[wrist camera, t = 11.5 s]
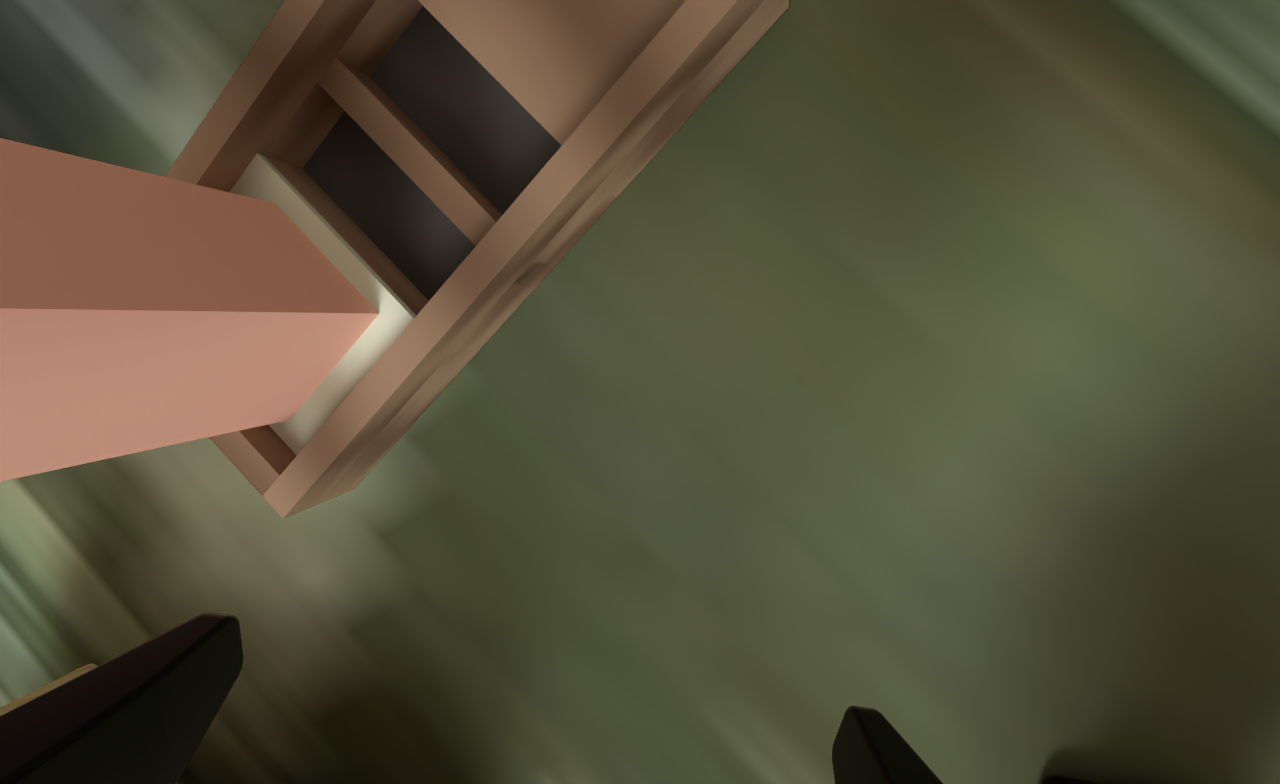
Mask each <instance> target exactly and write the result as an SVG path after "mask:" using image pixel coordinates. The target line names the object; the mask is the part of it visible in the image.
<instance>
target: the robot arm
mask: <svg viewBox="0 0 1280 784" xmlns="http://www.w3.org/2000/svg"><path fill="white" fill-rule="evenodd" d="M242 664H243V650H242V642H241V633H240V625H239V621H238V619H237V618H236V617H235V616H233V615H227V614H220V613H214V612H207V613H203V614H201V615H199V616H197V617H195V618H193V619H191V620H189V621H187V622H185V623H183V624H181V625H179V626H177V627H175V628H173V629H171V630H169V631H167V632H165V633H163V634H161V635H159V636H157V637H155V638H153V639H151V640H149V641H147V642H145V643H143V644H141V645H139V646H137V647H135V648H133V649H131V650H129V651H127V652H125V653H123V654H121V655H119V656H117V657H115V658H113V659H111V660H109V661H107V662H105V663H104V664H102V665H100V666H98V667H96V668H94V669H92V670H90V671H88V672H86V673H84V674H82V675H80V676H78V677H76V678H74V679H72V680H70V681H68V682H66V683H64V684H62V685H60V686H58V687H56V688H54V689H52V690H50V691H48V692H46V693H44V694H42V695H40V696H38V697H36V698H34V699H32V700H30V701H28V702H26V703H24V704H22V705H20V706H18V707H16V708H14V709H12V710H10V711H8V712H7V713H5V714H3V715H1V716H0V784H176V783H177V781H178V779H179V778H180V776H181V774H182V773H183V771H184V769H185V768H186V766H187V764H188V763H189V761H190V759H191V757H192V756H193V754H194V752H195V750H196V749H197V747H198V745H199V743H200V742H201V740H202V738H203V737H204V735H205V733H206V731H207V730H208V728H209V726H210V724H211V723H212V721H213V719H214V717H215V716H216V714H217V712H218V710H219V709H220V707H221V705H222V703H223V702H224V700H225V698H226V697H227V695H228V693H229V691H230V690H231V688H232V686H233V684H234V683H235V681H236V679H237V677H238V675H239V673H240V671H241V668H242ZM832 763H833V770H834V778H835V784H943V783H942V782H941V781H940V780H939V778H938V777H937V776H936V775H935V774H934V773H933V772H932V770H931V769H930V768H929V767H928V766H927V765H926V764H925V763H924V761H923V760H922V759H921V758H920V757H919V756H918V755H917V753H916V752H915V751H914V750H913V749H912V748H911V747H910V746H909V744H908V743H907V742H906V741H905V740H904V739H903V738H902V736H901V735H900V734H899V733H898V732H897V731H896V730H895V729H894V727H893V726H892V725H891V724H890V723H889V722H888V721H887V719H886V718H885V717H884V716H883V715H882V714H881V713H880V712H879V711H877V710H875V709H872V708H865V707H858V706H850V707H849V708H848V709H847V710H846V712H845V714H844V717H843V719H842V722H841V725H840V727H839V730H838V733H837V735H836V738H835V741H834V744H833V749H832ZM1042 784H1096V783H1091V782H1087V781H1082V780H1077V779H1072V778H1067V777H1062V776H1053V777H1049V778H1047V779H1046V780H1045V781H1044V782H1043V783H1042Z"/></svg>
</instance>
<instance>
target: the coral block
mask: <svg viewBox="0 0 1280 784" xmlns="http://www.w3.org/2000/svg"><path fill="white" fill-rule="evenodd" d="M378 315H379V313H378V312H377V311H376V310H375V308H374V307H373V306H372V305H371V304H370V303H369V302H368V301H367V300H366V299H365V298H364V297H363V296H362V295H361V294H360V293H359V292H358V290H357V289H356V288H355V287H354V286H353V285H352V284H351V283H350V282H349V281H348V280H347V279H346V278H345V277H344V276H343V275H342V273H341V272H340V271H339V270H338V269H337V268H336V267H335V266H334V265H333V264H332V263H331V262H330V261H329V260H328V259H327V258H326V256H325V255H324V254H323V253H322V252H321V251H320V250H319V249H318V248H317V247H316V246H315V245H314V244H313V243H312V242H311V241H310V239H309V238H308V237H307V236H306V235H305V234H304V233H303V232H302V231H301V230H300V229H299V228H298V227H297V226H296V225H295V224H294V222H293V221H292V220H291V219H290V218H289V217H288V216H287V215H286V214H285V213H284V212H283V211H282V210H281V209H280V208H279V207H278V205H277V204H276V203H272V202H268V201H263V200H259V199H255V198H251V197H247V196H242V195H238V194H234V193H230V192H225V191H221V190H217V189H213V188H209V187H204V186H200V185H196V184H192V183H187V182H183V181H179V180H175V179H171V178H166V177H162V176H158V175H154V174H150V173H145V172H141V171H137V170H133V169H128V168H124V167H120V166H116V165H112V164H107V163H103V162H99V161H95V160H91V159H86V158H82V157H78V156H74V155H69V154H65V153H61V152H57V151H53V150H48V149H44V148H40V147H36V146H31V145H27V144H23V143H19V142H15V141H10V140H6V139H2V138H0V481H5V480H10V479H15V478H19V477H24V476H29V475H33V474H38V473H43V472H47V471H52V470H57V469H61V468H66V467H71V466H75V465H80V464H85V463H90V462H94V461H99V460H104V459H108V458H113V457H118V456H122V455H127V454H132V453H136V452H141V451H146V450H151V449H155V448H160V447H165V446H169V445H174V444H179V443H183V442H188V441H193V440H197V439H202V438H207V437H211V436H216V435H221V434H226V433H230V432H235V431H240V430H244V429H249V428H254V427H258V426H263V425H268V424H272V423H277V422H282V421H286V420H290V419H291V418H292V417H293V416H294V415H295V414H296V412H297V411H298V410H299V409H300V408H301V406H302V405H303V404H304V403H305V402H306V400H307V399H308V398H309V397H310V396H311V394H312V393H313V392H314V391H315V390H316V389H317V387H318V386H319V385H320V384H321V383H322V381H323V380H324V379H325V378H326V377H327V375H328V374H329V373H330V372H331V371H332V369H333V368H334V367H335V366H336V365H337V364H338V362H339V361H340V360H341V359H342V358H343V356H344V355H345V354H346V353H347V352H348V350H349V349H350V348H351V347H352V346H353V344H354V343H355V342H356V341H357V340H358V339H359V337H360V336H361V335H362V334H363V333H364V331H365V330H366V329H367V328H368V327H369V325H370V324H371V323H372V322H373V321H374V319H375V318H376V317H377V316H378Z"/></svg>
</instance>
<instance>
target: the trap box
mask: <svg viewBox="0 0 1280 784" xmlns="http://www.w3.org/2000/svg"><path fill="white" fill-rule="evenodd" d="M788 7H789V0H285V1H284V2H283V3H282V5H281V6H280V8H279V9H278V11H277V12H276V14H275V15H274V17H273V18H272V20H271V21H270V23H269V24H268V26H267V27H266V28H265V30H264V31H263V33H262V34H261V36H260V37H259V39H258V40H257V42H256V43H255V45H254V46H253V48H252V49H251V51H250V52H249V53H248V55H247V56H246V58H245V59H244V61H243V62H242V64H241V65H240V67H239V68H238V70H237V71H236V73H235V74H234V76H233V77H232V79H231V80H230V81H229V83H228V84H227V86H226V87H225V89H224V90H223V92H222V93H221V95H220V96H219V98H218V99H217V101H216V102H215V104H214V105H213V106H212V108H211V109H210V111H209V112H208V114H207V115H206V117H205V118H204V120H203V121H202V123H201V124H200V126H199V127H198V129H197V130H196V131H195V133H194V134H193V136H192V137H191V139H190V140H189V142H188V143H187V145H186V146H185V148H184V149H183V151H182V152H181V154H180V155H179V157H178V158H177V159H176V161H175V162H174V164H173V165H172V167H171V168H170V170H169V171H168V173H167V174H166V176H165V177H166V178H171V179H175V180H179V181H183V182H187V183H192V184H196V185H200V186H204V187H209V188H213V189H217V190H221V191H225V192H230V193H234V194H238V195H242V196H247V197H251V198H255V199H259V200H263V201H268V202H272V203H276V204H277V205H278V207H279V208H280V209H281V210H282V211H283V212H284V213H285V214H286V215H287V216H288V217H289V218H290V219H291V220H292V221H293V222H294V224H295V225H296V226H297V227H298V228H299V229H300V230H301V231H302V232H303V233H304V234H305V235H306V236H307V237H308V238H309V239H310V241H311V242H312V243H313V244H314V245H315V246H316V247H317V248H318V249H319V250H320V251H321V252H322V253H323V254H324V255H325V256H326V258H327V259H328V260H329V261H330V262H331V263H332V264H333V265H334V266H335V267H336V268H337V269H338V270H339V271H340V272H341V273H342V275H343V276H344V277H345V278H346V279H347V280H348V281H349V282H350V283H351V284H352V285H353V286H354V287H355V288H356V289H357V290H358V292H359V293H360V294H361V295H362V296H363V297H364V298H365V299H366V300H367V301H368V302H369V303H370V304H371V305H372V306H373V307H374V308H375V310H376V311H377V312H378V313H379V315H378V316H377V317H376V318H375V319H374V321H373V322H372V323H371V324H370V325H369V327H368V328H367V329H366V330H365V331H364V333H363V334H362V335H361V336H360V337H359V339H358V340H357V341H356V342H355V343H354V344H353V346H352V347H351V348H350V349H349V350H348V352H347V353H346V354H345V355H344V356H343V358H342V359H341V360H340V361H339V362H338V364H337V365H336V366H335V367H334V368H333V369H332V371H331V372H330V373H329V374H328V375H327V377H326V378H325V379H324V380H323V381H322V383H321V384H320V385H319V386H318V387H317V389H316V390H315V391H314V392H313V393H312V394H311V396H310V397H309V398H308V399H307V400H306V402H305V403H304V404H303V405H302V406H301V408H300V409H299V410H298V411H297V412H296V414H295V415H294V416H293V417H292V418H291V419H290V420H286V421H282V422H277V423H272V424H268V425H263V426H258V427H254V428H249V429H244V430H240V431H235V432H230V433H226V434H221V435H216V436H211V437H209V438H210V439H211V440H212V441H213V442H214V444H215V445H216V446H217V447H218V448H219V449H220V450H221V451H222V452H223V453H224V455H225V456H226V457H227V458H228V459H229V460H230V461H231V462H232V463H233V464H234V466H235V467H236V468H237V469H238V470H239V471H240V472H241V473H242V474H243V475H244V476H245V478H246V479H247V480H248V481H249V482H250V483H251V484H252V485H253V486H254V487H255V489H256V490H257V491H258V492H259V493H260V494H261V495H262V496H263V497H264V498H265V500H266V501H267V502H268V503H269V504H270V505H271V506H272V507H273V508H274V509H275V510H276V512H277V513H278V514H279V515H280V516H281V517H282V518H286V517H288V516H291V515H293V514H295V513H298V512H300V511H303V510H305V509H307V508H310V507H312V506H315V505H317V504H319V503H322V502H324V501H327V500H329V499H331V498H334V497H336V496H339V495H341V494H343V493H346V492H348V491H351V490H353V489H354V488H355V487H356V486H357V485H358V484H359V483H360V482H361V481H362V480H363V478H364V477H365V476H366V475H367V474H368V473H369V472H370V471H371V470H372V468H373V467H374V466H375V465H376V464H377V463H378V462H379V461H380V460H381V459H382V457H383V456H384V455H385V454H386V453H387V452H388V451H389V450H390V449H391V447H392V446H393V445H394V444H395V443H396V442H397V441H398V440H399V439H400V437H401V436H402V435H403V434H404V433H405V432H406V431H407V430H408V429H409V427H410V426H411V425H412V424H413V423H414V422H415V421H416V420H417V419H418V417H419V416H420V415H421V414H422V413H423V412H424V411H425V410H426V409H427V408H428V406H429V405H430V404H431V403H432V402H433V401H434V400H435V399H436V398H437V396H438V395H439V394H440V393H441V392H442V391H443V390H444V389H445V388H446V386H447V385H448V384H449V383H450V382H451V381H452V380H453V379H454V378H455V376H456V375H457V374H458V373H459V372H460V371H461V370H462V369H463V368H464V366H465V365H466V364H467V363H468V362H469V361H470V360H471V359H472V358H473V356H474V355H475V354H476V353H477V352H478V351H479V350H480V349H481V348H482V347H483V345H484V344H485V343H486V342H487V341H488V340H489V339H490V338H491V337H492V335H493V334H494V333H495V332H496V331H497V330H498V329H499V328H500V327H501V325H502V324H503V323H504V322H505V321H506V320H507V319H508V318H509V317H510V315H511V314H512V313H513V312H514V311H515V310H516V309H517V308H518V307H519V305H520V304H521V303H522V302H523V301H524V300H525V299H526V298H527V297H528V296H529V294H530V293H531V292H532V291H533V290H534V289H535V288H536V287H537V286H538V284H539V283H540V282H541V281H542V280H543V279H544V278H545V277H546V276H547V274H548V273H549V272H550V271H551V270H552V269H553V268H554V267H555V266H556V264H557V263H558V262H559V261H560V260H561V259H562V258H563V257H564V256H565V254H566V253H567V252H568V251H569V250H570V249H571V248H572V247H573V246H574V245H575V243H576V242H577V241H578V240H579V239H580V238H581V237H582V236H583V235H584V233H585V232H586V231H587V230H588V229H589V228H590V227H591V226H592V225H593V223H594V222H595V221H596V220H597V219H598V218H599V217H600V216H601V215H602V213H603V212H604V211H605V210H606V209H607V208H608V207H609V206H610V205H611V203H612V202H613V201H614V200H615V199H616V198H617V197H618V196H619V195H620V194H621V192H622V191H623V190H624V189H625V188H626V187H627V186H628V185H629V184H630V182H631V181H632V180H633V179H634V178H635V177H636V176H637V175H638V174H639V172H640V171H641V170H642V169H643V168H644V167H645V166H646V165H647V164H648V162H649V161H650V160H651V159H652V158H653V157H654V156H655V155H656V154H657V152H658V151H659V150H660V149H661V148H662V147H663V146H664V145H665V144H666V143H667V141H668V140H669V139H670V138H671V137H672V136H673V135H674V134H675V133H676V131H677V130H678V129H679V128H680V127H681V126H682V125H683V124H684V123H685V121H686V120H687V119H688V118H689V117H690V116H691V115H692V114H693V113H694V111H695V110H696V109H697V108H698V107H699V106H700V105H701V104H702V103H703V101H704V100H705V99H706V98H707V97H708V96H709V95H710V94H711V93H712V91H713V90H714V89H715V88H716V87H717V86H718V85H719V84H720V83H721V82H722V80H723V79H724V78H725V77H726V76H727V75H728V74H729V73H730V72H731V70H732V69H733V68H734V67H735V66H736V65H737V64H738V63H739V62H740V60H741V59H742V58H743V57H744V56H745V55H746V54H747V53H748V52H749V50H750V49H751V48H752V47H753V46H754V45H755V44H756V43H757V42H758V40H759V39H760V38H761V37H762V36H763V35H764V34H765V33H766V32H767V31H768V29H769V28H770V27H771V26H772V25H773V24H774V23H775V22H776V21H777V19H778V18H779V17H780V16H781V15H782V14H783V13H784V12H785V11H786V9H787V8H788Z"/></svg>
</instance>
